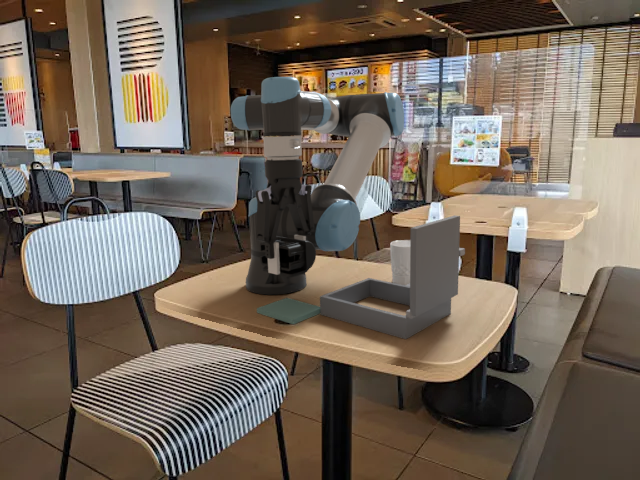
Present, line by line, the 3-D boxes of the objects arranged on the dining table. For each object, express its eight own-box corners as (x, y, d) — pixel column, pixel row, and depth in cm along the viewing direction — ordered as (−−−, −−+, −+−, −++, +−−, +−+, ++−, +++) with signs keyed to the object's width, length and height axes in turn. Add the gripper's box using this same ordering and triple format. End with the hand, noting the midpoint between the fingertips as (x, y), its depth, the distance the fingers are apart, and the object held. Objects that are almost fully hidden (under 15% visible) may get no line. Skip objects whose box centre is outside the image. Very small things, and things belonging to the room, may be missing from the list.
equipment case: (320, 314, 106) (317, 217, 102) (374, 292, 120) (373, 205, 116) (413, 341, 91) (414, 229, 87) (462, 312, 105) (466, 214, 101)
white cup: (400, 276, 133) (400, 238, 131) (427, 281, 128) (428, 242, 126) (384, 283, 127) (384, 244, 125) (412, 288, 122) (412, 248, 120)
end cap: (317, 270, 105) (316, 238, 104) (292, 278, 100) (291, 244, 99) (284, 263, 112) (282, 233, 111) (259, 270, 107) (257, 239, 106)
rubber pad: (257, 312, 108) (256, 308, 108) (287, 301, 115) (286, 297, 115) (293, 324, 101) (293, 319, 101) (323, 312, 108) (323, 307, 107)
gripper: (257, 161, 92) (264, 283, 96) (330, 156, 106) (332, 262, 111) (231, 160, 97) (238, 276, 101) (304, 155, 111) (307, 257, 116)
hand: (287, 269), depth 106 cm, fingers closed on end cap, 7 cm apart
